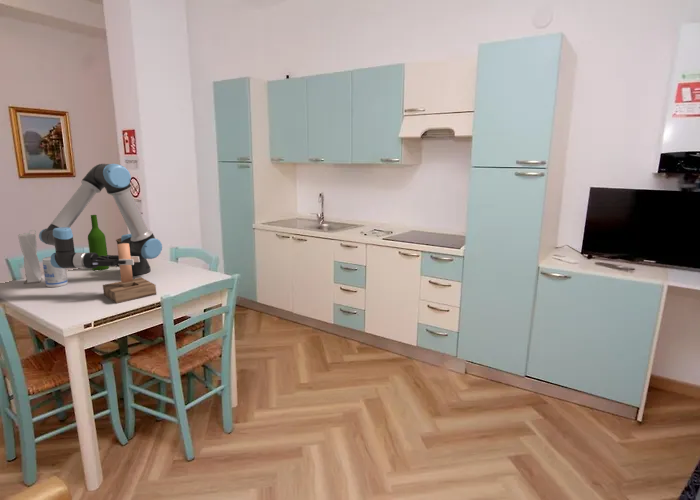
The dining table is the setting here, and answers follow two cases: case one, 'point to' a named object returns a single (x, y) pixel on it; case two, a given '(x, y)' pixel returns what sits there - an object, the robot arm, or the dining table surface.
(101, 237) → the wine bottle
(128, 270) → the peg
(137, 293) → the socket block
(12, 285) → the dining table surface
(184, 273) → the dining table surface
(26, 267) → the skyscraper
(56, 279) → the supplement tub
